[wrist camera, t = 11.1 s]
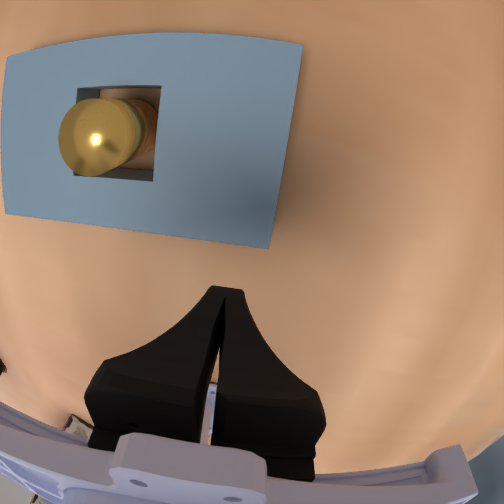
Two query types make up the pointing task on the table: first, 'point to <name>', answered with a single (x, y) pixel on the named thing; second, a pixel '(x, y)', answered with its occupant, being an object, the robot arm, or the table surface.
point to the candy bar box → (75, 428)
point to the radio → (2, 367)
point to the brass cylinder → (106, 134)
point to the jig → (168, 133)
